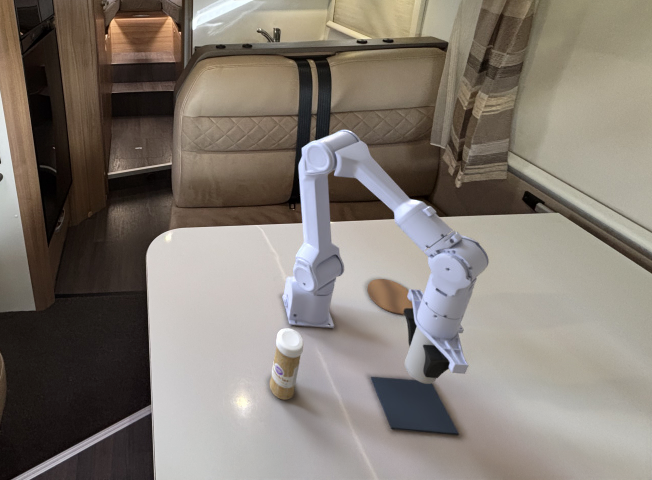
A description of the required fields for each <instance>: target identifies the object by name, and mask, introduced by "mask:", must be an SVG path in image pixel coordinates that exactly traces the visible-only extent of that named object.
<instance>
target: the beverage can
mask: <svg viewBox="0 0 652 480" xmlns="http://www.w3.org/2000/svg"><path fill="white" fill-rule="evenodd" d="M423 345H434V344H433V343H432V342H431V341H430V340H429V339H428V338H427V337H426V336H425V335H424V334H423V333H422V332H421V331H420V330H419V328H418V327H416V330H415V333H414V336H413V339H412V342H411V345H410V346H409V348H408V352H407V355H406V357H405V360H404V368H405V370H406V371H407V373H408V374H409V376H410V377H411V378H412V379H413V380H417V381H419V382H421V383H424V384H431V383H432V384H434V383H435V382H436V380H437V378H429V377H425V375H424V372H423V369H424V364H425V351H424V348H423Z"/></svg>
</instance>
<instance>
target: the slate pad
mask: <svg viewBox="0 0 652 480" xmlns="http://www.w3.org/2000/svg"><path fill="white" fill-rule="evenodd" d="M370 380H371V383H372V386H373V388H374V391H375V393H376V396H377V397H378V399H379V402H380V405H381V407H382V410H383V412H384V415H385V417H386V420H387V422H388V424H389V426H390V429H391V430H397V431H406V432H418V433H427V434H440V435H450V436H459V434H460V433H459V431H458V429H457V427H456V425H455V424H454V421H453V420H452V418H451V416H450V414H449V413H448V410H447V408H446V407H445V405H444V403H443V401H442V399H441V398H440V395H439V394H438V392H437V390H436V388H435V386H434V385H433V384H434V383H431V384H424V383H421V382H419V381H417V380H415V379H405V378H395V377H394V378H393V377H381V376H370Z"/></svg>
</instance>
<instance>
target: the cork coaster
mask: <svg viewBox="0 0 652 480" xmlns="http://www.w3.org/2000/svg"><path fill="white" fill-rule="evenodd" d="M366 289H367V294H368V297H369V298H370V300H372V301H373V303H374V304H375V305H376V306H378V307H379V308H380V309H382V310H384V311H387V312H389V313H392V314H394V315H402V316H405V314H404V312H403V311H404V309H405V308H412V307H413V305H412V301H410V300H409V299H408V297H407V296H408V292H409V289H408V288H406V287H405V286H403V285H401V284H400V283H398V282H397V281H393V280H392V279H391V280H390V279H386V278H375V279H373V280H371V281H369V283H368V285H367V288H366Z"/></svg>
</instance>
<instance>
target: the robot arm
mask: <svg viewBox="0 0 652 480" xmlns="http://www.w3.org/2000/svg"><path fill="white" fill-rule="evenodd" d="M333 171H334V174H333V176H334V177H340V178H351V179H356V180H358V181H359V182H360V183H361V184H362V185H363V186H365V188H366V189H368V190H369V191H370V192H371V193H372V194H373V195H374V196H376V197H377V198H378V199H379V200H380V201H381V202H382V203H383V204H385V205H386V206H387V207H388V208H389V209H390V210H391V211H392V212H393V215H394V217H393V218H394V224H395V225H396V226H397V227H398V228H399V229H400V231H402V232H403V233H404V234H405V235H406V236H407V237H408V238H409V239H410V241H412V242H413V243H414V245H416V247H418V248H419V250H420V251H421V252H423V253H424V255H425V256H426V257H427V263H428V264H427V265H428V267H429V270H430V274H429V276H428V279H427V283H426V285H425V288H424V291H422V290H421V289H417V288H416V289H414V288H409V289H408V291H409V292H408V296H407V297H408V299H409V300H410V301H412V305H413V307H412V308H405V309H404V311H403V312H404V318H405V321H406V326H407V335H408V336H407V337H408V338H407V340H408V341H407V342H408V347H410V345H411V342H412V339H413V336H414V333H415V330H416V327H418V328H419V330H420V331H421V332H422V333H423V334H424V335H425V336H426V337H427V338H428V339H429V340H430V341H431V342H432V343H433V344H434V345H423V348H424V351H425V364H424V369H423V372H424V375H425V377H429V378H436V379H438V378H440V376H441V375H443V374H444V373H445V372H446V371H447V370H449V371H450V373H452V374H462V375H465V374H466V372H467V371H468V368H469V366H470V365H469V364H468V361H467V360H466V358H465V355H464V351H463V346H462V343H461V337H460V334H463V333H464V331H465V330H464V327H463V326H462V324H461V323H462V321H463V318H464V316H465V313H466V311H467V308H468V305H469V303H470V301H471V298H472V295H473V291H474V289H475V284H476V282H477V277H479V276H480V275H481V274H483V273H484V271H485V270H486V269H487V268H488V266H489V263H490V261H489V260H490V259H489V255H488V253H487V252H486V250H485V249H484V248H483V246H482V245H481V244H480V242H478V241H477V240H475V239H473V238H471V237H469V236H465V235H463V234H461V233H460V232H459V231H456V230H454V229H453V228H451V226H449V225H448V224H447V223H446V222H445V221H444V220H443V219H442V218H440V216H439V215H438V214H437V211H436V209H434V208H433V207H432V206H431V205H428V204H426V203H425V202H424V201H421V200H417V199H412V198H410V197H409V196H408V195H407V194H406V193H405V191H404V190H403V189H401V187H400V186H399V185H398V184H397V183H396V182H395V181H394V180H393V179H392V177H391V176H390V175H389V174H388V173H387V172H386V171H385V170H384V169H383V168H382V167H381V165H380V164H379V163H378V162H377V161H376V160H375V159H374V158H373V157H372V155H371V153H370V150H369V147H368V145H367V143H366V142H364V141H363V140H361V139H360V137H359V136H358V135H357V134H356V133H355V132H353V131H351V130H349V129H341V130H338V131H336V132H335V133H332V134H330V135H326V136H324V137H322V138H320V139H319V138H318V139H317V140H313V141H312V140H311V141H310V142H308V143H306V145H304V146H303V147H301V158H300V160H299V162H298V179H299V194H300V195H299V196H300V206H301V222H302V236H303V243H302V245H301V246H300V248H299V250H298V251H297V253H296V254H295V263H294V265H293V268H292V273H293V275H292V276H287V277H286V278H285V284H284V291H283V294H282V301H283V304H284V309H285V312H286V316H287V320H288V323H289V325H291V326H299V327H313V328H327V329H334V328H335V324H334V321H333V319H332V316H331V313H330V308H331V304H332V298H333V294H334V289H335V283H336V281H337V278H338V277H341V276H342V275H343V274H344V273H345V264H344V261H343V259H342V257H341V253H340V247H338V245H336V244H335V243H333V242H332V229H331V211H330V210H331V209H330V195H329V178H328V176H329V174H331V173H332V172H333Z"/></svg>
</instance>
